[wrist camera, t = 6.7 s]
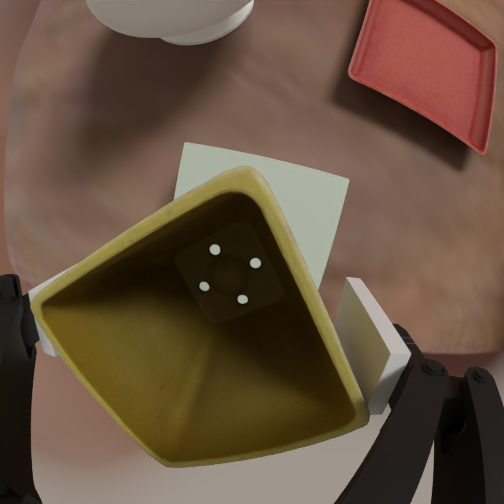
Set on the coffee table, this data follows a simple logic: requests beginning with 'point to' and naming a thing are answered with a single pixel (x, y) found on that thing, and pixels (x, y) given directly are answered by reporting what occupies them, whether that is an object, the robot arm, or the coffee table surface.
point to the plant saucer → (430, 65)
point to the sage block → (277, 198)
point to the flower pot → (206, 331)
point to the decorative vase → (173, 18)
